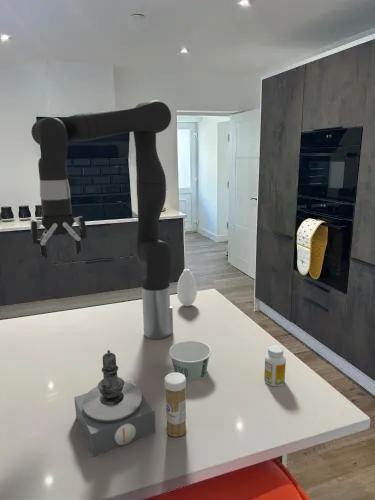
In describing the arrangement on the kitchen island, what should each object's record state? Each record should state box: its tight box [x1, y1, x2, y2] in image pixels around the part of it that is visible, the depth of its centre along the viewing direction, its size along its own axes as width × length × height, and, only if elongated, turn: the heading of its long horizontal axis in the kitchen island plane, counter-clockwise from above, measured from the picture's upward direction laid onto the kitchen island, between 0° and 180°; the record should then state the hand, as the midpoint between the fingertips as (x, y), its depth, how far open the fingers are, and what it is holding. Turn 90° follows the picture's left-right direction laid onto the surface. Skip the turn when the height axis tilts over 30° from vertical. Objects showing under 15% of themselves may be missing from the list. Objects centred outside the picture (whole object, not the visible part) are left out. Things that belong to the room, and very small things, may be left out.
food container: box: [168, 340, 212, 381], centre depth 107 cm, size 12×12×6 cm
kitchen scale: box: [73, 379, 156, 457], centre depth 86 cm, size 14×15×5 cm
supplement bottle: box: [263, 344, 286, 387], centre depth 101 cm, size 5×5×10 cm
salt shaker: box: [97, 349, 125, 406], centre depth 84 cm, size 6×6×12 cm
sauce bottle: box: [176, 263, 198, 307], centre depth 152 cm, size 8×8×18 cm
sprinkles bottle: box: [164, 372, 187, 438], centre depth 83 cm, size 5×5×13 cm
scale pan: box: [83, 382, 143, 423], centre depth 85 cm, size 13×13×3 cm
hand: (61, 255), depth 105 cm, fingers open, 8 cm apart
